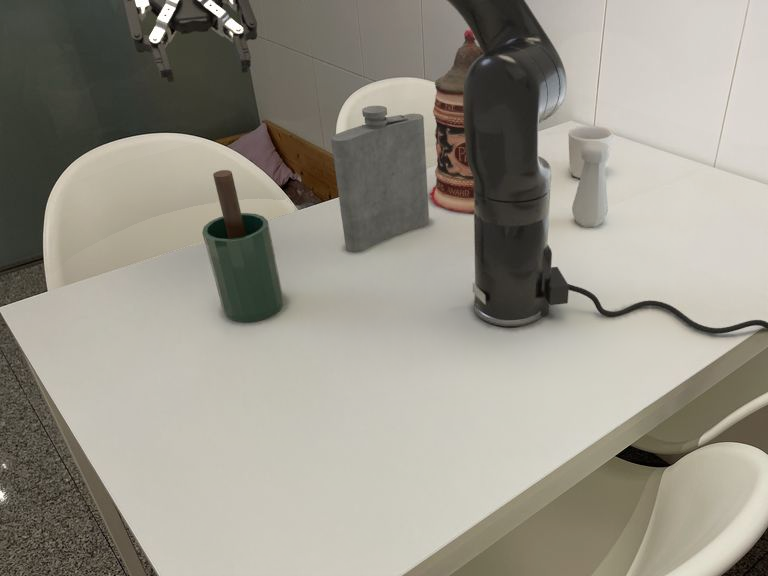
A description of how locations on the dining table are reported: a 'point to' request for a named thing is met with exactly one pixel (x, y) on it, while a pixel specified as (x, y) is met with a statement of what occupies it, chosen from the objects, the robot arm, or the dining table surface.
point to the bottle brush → (229, 204)
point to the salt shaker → (592, 186)
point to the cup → (579, 139)
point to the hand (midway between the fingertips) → (208, 73)
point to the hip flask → (381, 177)
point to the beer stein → (454, 134)
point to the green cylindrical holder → (244, 269)
